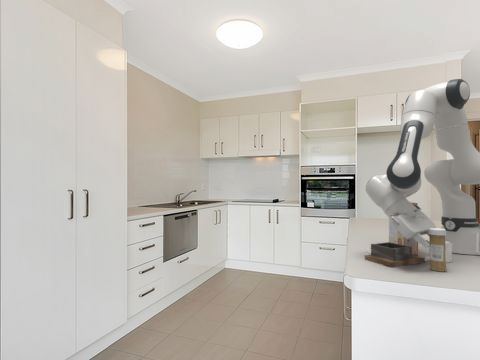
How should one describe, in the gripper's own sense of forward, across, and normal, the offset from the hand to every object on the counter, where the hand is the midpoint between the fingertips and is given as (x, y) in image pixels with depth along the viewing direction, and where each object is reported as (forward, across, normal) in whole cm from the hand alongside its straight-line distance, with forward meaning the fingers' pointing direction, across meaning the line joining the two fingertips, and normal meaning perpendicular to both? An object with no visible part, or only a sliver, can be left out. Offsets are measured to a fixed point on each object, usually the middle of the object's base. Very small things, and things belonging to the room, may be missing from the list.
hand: (434, 244), depth 90 cm
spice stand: (-3, +1, +15) cm, 15 cm away
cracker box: (-6, +19, +18) cm, 27 cm away
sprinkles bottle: (+6, 0, +5) cm, 8 cm away
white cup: (+4, +14, +8) cm, 17 cm away
